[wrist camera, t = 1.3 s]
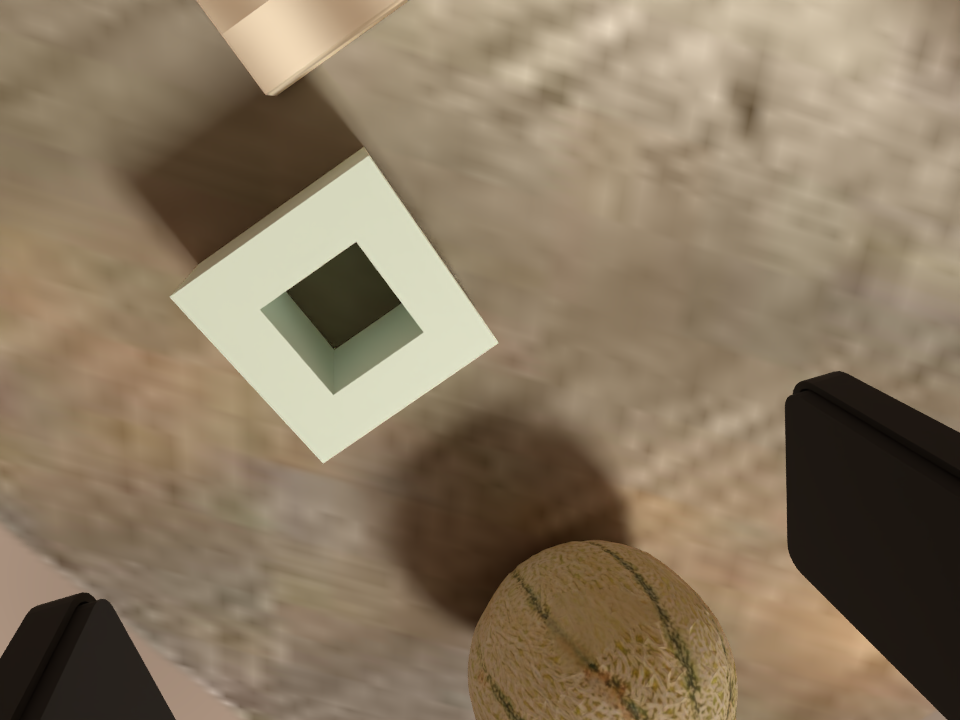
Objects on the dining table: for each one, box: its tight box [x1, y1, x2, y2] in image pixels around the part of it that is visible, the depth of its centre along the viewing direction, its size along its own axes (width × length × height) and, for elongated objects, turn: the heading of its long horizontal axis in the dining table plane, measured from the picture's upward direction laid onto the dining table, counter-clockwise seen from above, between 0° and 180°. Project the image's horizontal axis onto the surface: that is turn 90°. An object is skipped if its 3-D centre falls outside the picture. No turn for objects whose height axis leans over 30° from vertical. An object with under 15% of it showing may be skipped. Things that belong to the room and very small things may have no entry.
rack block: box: [170, 147, 498, 463], centre depth 32 cm, size 10×10×6 cm
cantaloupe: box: [468, 540, 738, 720], centre depth 38 cm, size 15×15×15 cm
